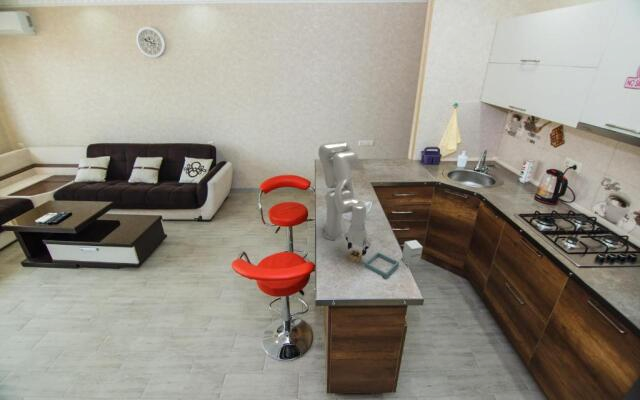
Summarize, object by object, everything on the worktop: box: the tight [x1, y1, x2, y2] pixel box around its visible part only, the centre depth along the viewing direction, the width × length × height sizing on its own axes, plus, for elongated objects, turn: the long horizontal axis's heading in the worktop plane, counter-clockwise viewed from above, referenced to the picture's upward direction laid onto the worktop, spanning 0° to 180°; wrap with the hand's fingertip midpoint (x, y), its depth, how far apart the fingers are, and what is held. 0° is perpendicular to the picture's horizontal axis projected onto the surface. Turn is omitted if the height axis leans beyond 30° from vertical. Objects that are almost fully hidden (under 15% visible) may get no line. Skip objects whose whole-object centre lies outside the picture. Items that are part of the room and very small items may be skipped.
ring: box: [348, 249, 363, 263], centre depth 175 cm, size 7×7×3 cm
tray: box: [364, 251, 400, 280], centre depth 169 cm, size 14×14×3 cm
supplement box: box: [401, 239, 424, 268], centre depth 171 cm, size 7×7×13 cm
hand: (356, 251), depth 172 cm, fingers open, 9 cm apart
